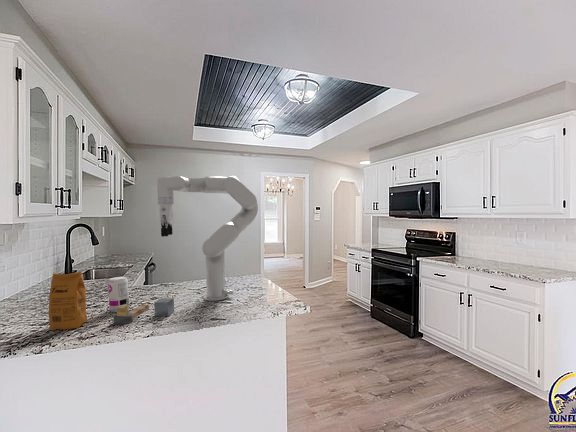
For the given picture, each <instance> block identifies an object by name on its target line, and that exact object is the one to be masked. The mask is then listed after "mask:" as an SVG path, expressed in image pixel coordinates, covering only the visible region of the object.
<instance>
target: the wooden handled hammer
mask: <svg viewBox="0 0 576 432" xmlns="http://www.w3.org/2000/svg"><path fill="white" fill-rule="evenodd" d="M149 309H150V306H149V304H140V305H138V306H137V307H134V308H133V309H131V310H129V308H128V305H121V306H119V307H117V312H116V314H114V315H113V325H114V326H124V324H125V325H129V324H131V323H132V322H133V320H134V319H135V318H137V317H138V316H140V315H142V314H143V313H144V311H145V312H146V311H148V310H149ZM136 316H137V317H136ZM130 322H131V323H130Z"/></svg>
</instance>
